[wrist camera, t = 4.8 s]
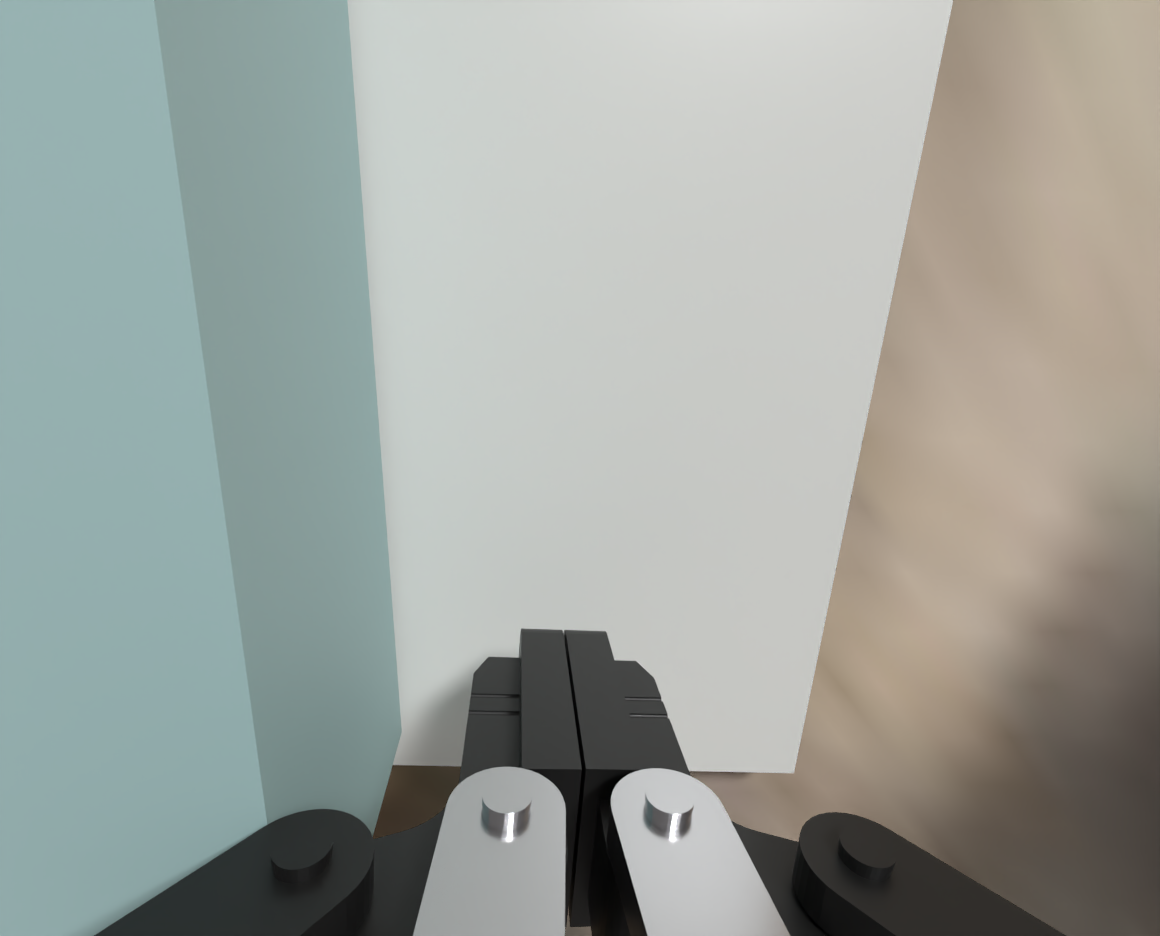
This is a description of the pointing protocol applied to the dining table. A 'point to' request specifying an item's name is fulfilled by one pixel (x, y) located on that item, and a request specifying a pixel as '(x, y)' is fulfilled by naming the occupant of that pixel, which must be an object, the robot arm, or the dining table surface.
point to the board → (630, 333)
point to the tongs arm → (182, 447)
